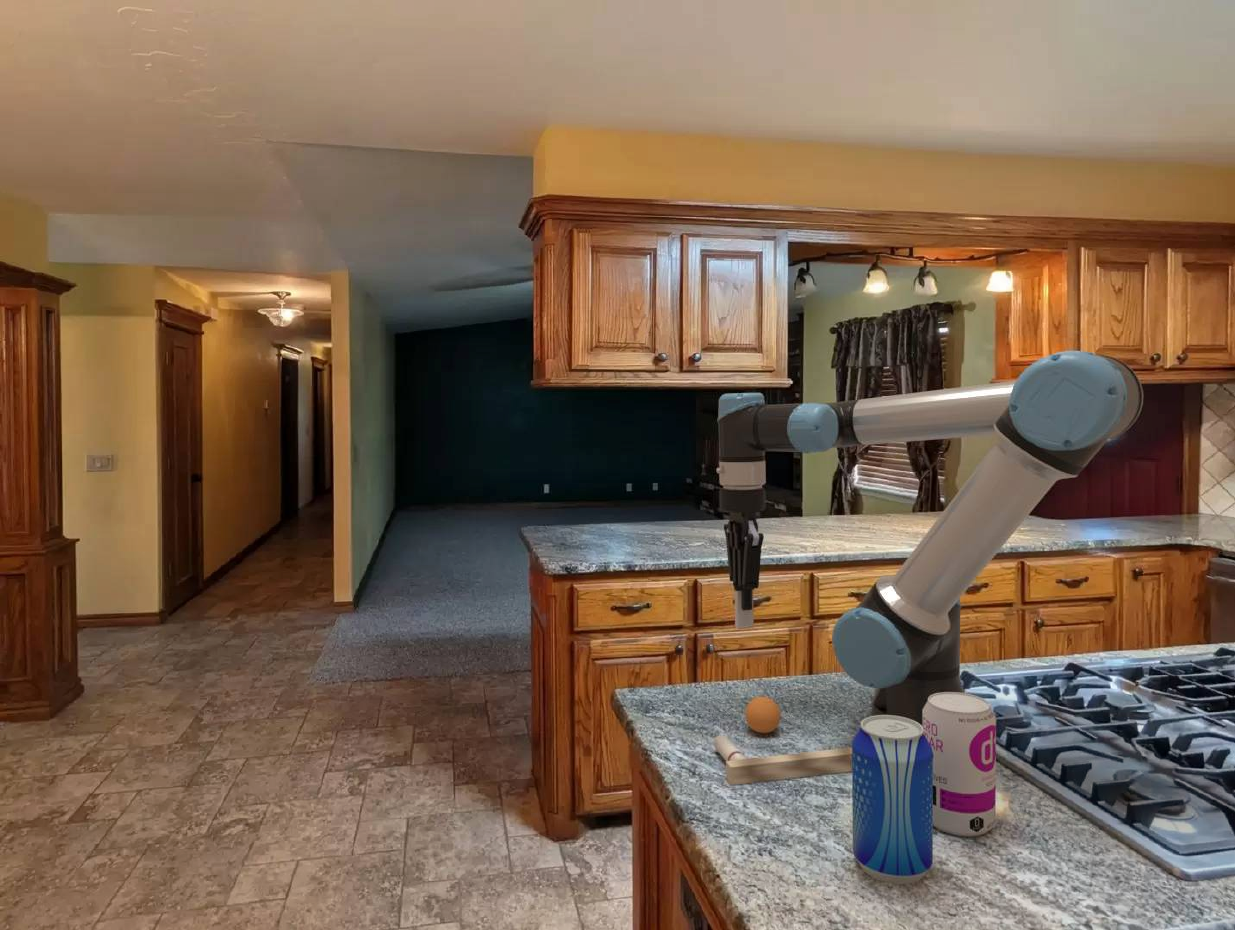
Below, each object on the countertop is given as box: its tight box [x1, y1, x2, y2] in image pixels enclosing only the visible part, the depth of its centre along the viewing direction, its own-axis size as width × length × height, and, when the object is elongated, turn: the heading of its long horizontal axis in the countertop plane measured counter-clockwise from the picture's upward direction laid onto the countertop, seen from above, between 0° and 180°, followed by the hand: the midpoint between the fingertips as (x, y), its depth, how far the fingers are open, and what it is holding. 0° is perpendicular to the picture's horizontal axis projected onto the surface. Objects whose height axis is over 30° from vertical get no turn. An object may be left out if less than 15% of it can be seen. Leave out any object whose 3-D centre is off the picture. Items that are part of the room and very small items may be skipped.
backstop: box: [725, 747, 852, 786], centre depth 115 cm, size 22×2×2 cm, turn 101°
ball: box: [744, 696, 782, 734], centre depth 129 cm, size 6×6×6 cm
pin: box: [713, 734, 747, 762], centre depth 119 cm, size 2×2×9 cm
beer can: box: [851, 715, 934, 885], centre depth 91 cm, size 8×8×16 cm
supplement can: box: [922, 692, 997, 837], centre depth 100 cm, size 8×8×15 cm
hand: (744, 627), depth 137 cm, fingers closed
